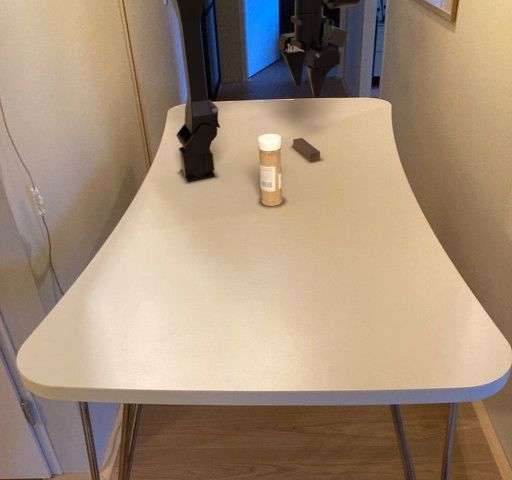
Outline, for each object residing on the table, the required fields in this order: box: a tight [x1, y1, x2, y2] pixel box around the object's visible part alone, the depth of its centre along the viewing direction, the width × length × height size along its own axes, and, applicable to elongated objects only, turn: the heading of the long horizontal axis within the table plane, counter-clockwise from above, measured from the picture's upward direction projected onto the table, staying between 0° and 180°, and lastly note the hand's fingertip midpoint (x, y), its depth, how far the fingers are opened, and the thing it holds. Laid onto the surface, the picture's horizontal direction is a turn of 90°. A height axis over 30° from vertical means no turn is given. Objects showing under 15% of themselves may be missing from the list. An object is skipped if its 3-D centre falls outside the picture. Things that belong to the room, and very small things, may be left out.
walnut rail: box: [292, 137, 321, 163], centre depth 131 cm, size 2×10×2 cm, turn 21°
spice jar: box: [257, 133, 283, 207], centre depth 109 cm, size 5×5×14 cm
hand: (307, 91), depth 122 cm, fingers open, 9 cm apart
